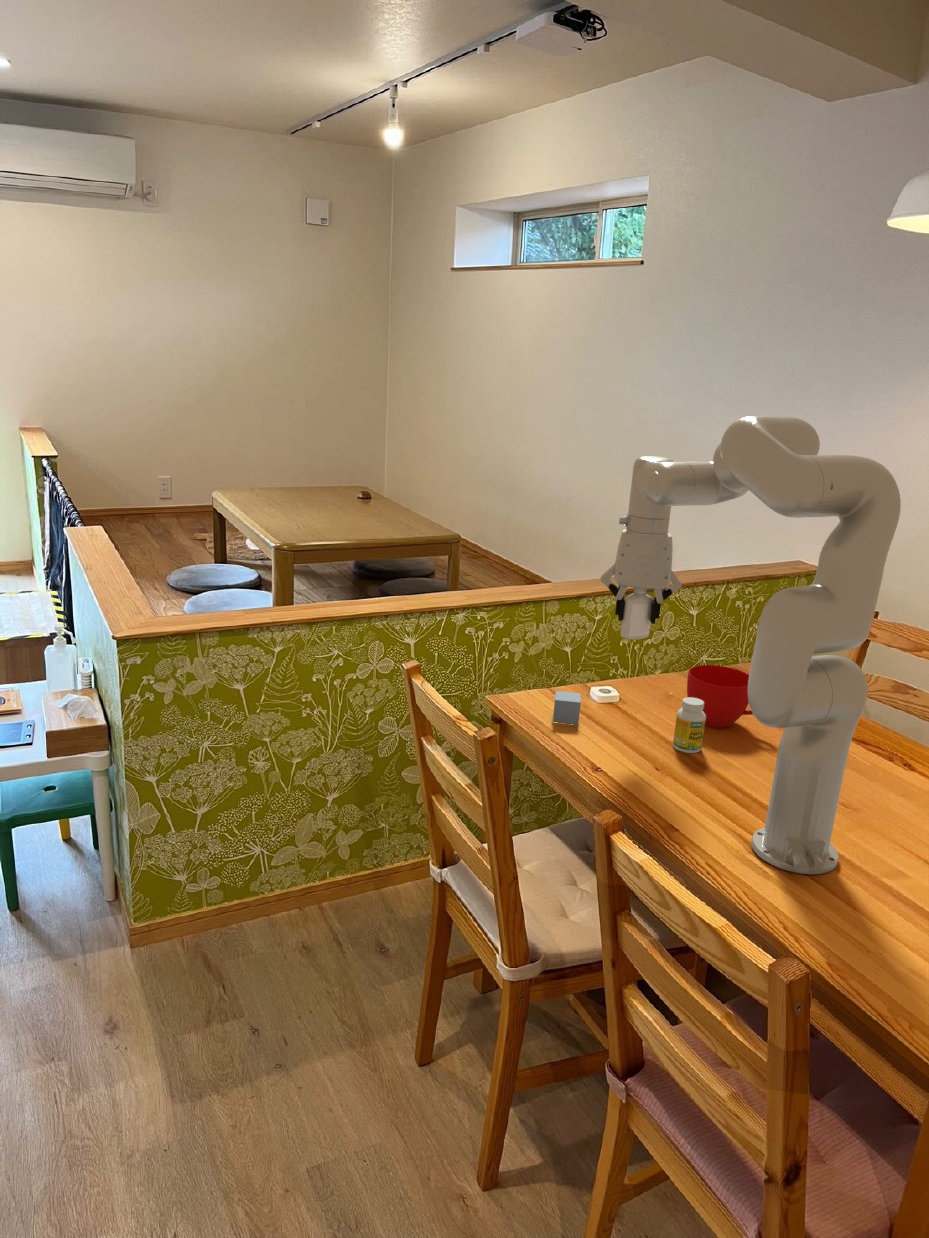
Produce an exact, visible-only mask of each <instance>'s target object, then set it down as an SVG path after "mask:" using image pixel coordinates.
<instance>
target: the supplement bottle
mask: <svg viewBox="0 0 929 1238" xmlns="http://www.w3.org/2000/svg"><path fill="white" fill-rule="evenodd" d="M703 709H704V702H703V701H702V700H700V699H697V698H692V697H687V696H686V697H684V698H682V701H681V708H679V709H678V711H677V713H676V720H675V727H674V734H673V742H672V746H673V748H674V749H675V750H677V751H679V752H681V753H686V754H696V753H699V752H701V750H702V746H703V740H704V733H705V726H706V725H705V721H706V715H705V713H704V712H703V711H702V710H703Z"/></svg>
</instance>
